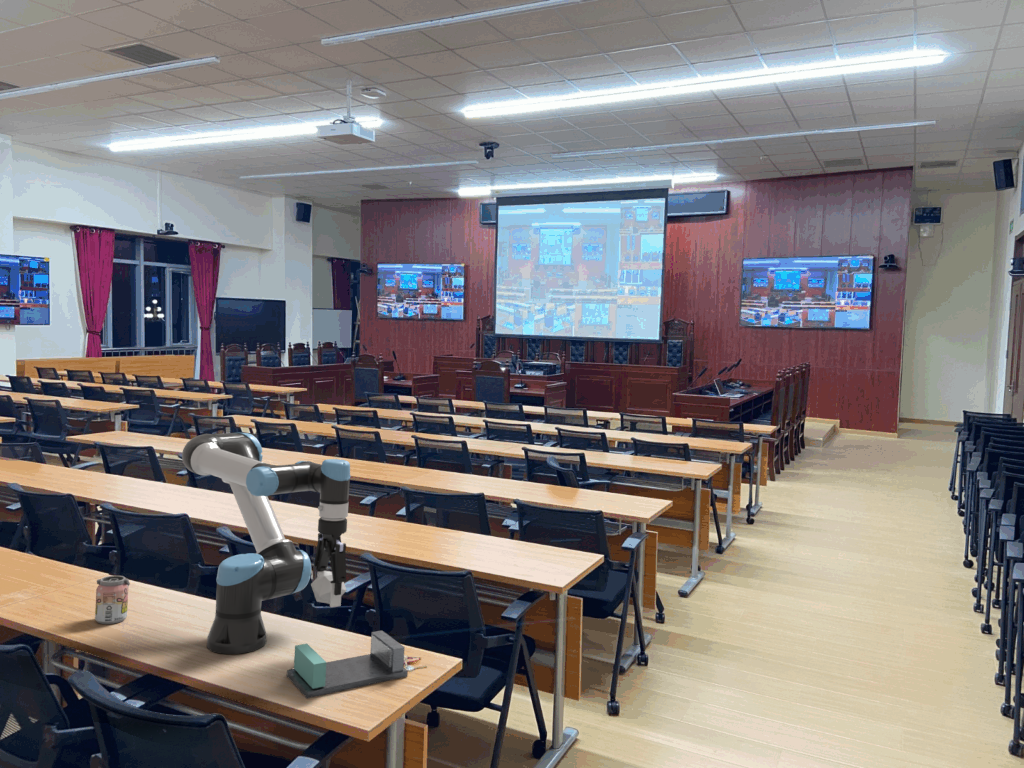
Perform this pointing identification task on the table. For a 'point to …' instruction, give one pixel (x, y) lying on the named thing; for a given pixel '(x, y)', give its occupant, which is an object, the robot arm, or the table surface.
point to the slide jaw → (310, 665)
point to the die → (324, 587)
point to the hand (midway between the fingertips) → (328, 600)
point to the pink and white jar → (111, 599)
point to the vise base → (359, 668)
